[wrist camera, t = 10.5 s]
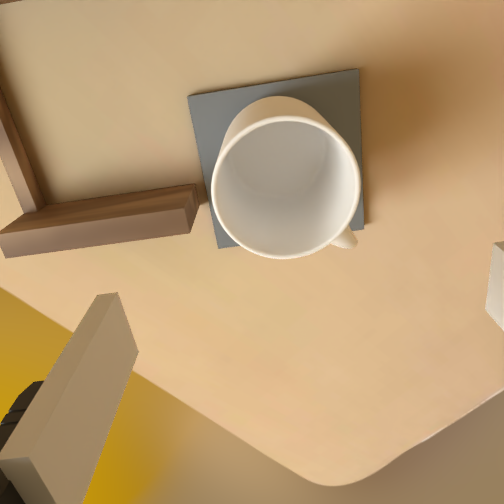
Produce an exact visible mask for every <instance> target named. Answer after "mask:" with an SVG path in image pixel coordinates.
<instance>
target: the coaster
mask: <svg viewBox="0 0 504 504" xmlns="http://www.w3.org/2000/svg"><path fill="white" fill-rule="evenodd" d="M271 96H287V97H292V98H295V99H298V100H301V101H303V102H305V103H306V104H308V105H310V106H311V107H312V108H314V109H315V110H316V111H317V112H318V113H319V114H320V115H321V116H322V117H323V118H324V119H325V120H326V121H327V122H328V123H329V124H330V125H331V126H332V127H333V128H334V129H335V130H336V131H337V133H338V134H339V135H340V136H341V137H342V138H343V139H344V140H345V141H346V143H347V144H348V145H349V147H350V148H351V150H352V152H353V154H354V156H355V158H356V161H357V163H358V167H359V171H360V178H361V192H360V198H359V202H358V206H357V209H356V211H355V214H354V216H353V218H352V220H351V221H350V223H349V224H348V225H349V226H350V228H351V230H352V231H355V230H362V229H364V208H363V178H362V147H361V116H360V86H359V69H351V70H345V71H339V72H333V73H326V74H320V75H314V76H308V77H301V78H295V79H289V80H283V81H277V82H270V83H264V84H258V85H252V86H245V87H239V88H233V89H227V90H220V91H214V92H208V93H202V94H196V95H189V96H187V99H188V104H189V109H190V114H191V118H192V123H193V128H194V133H195V138H196V143H197V148H198V152H199V157H200V162H201V167H202V172H203V177H204V181H205V186H206V191H207V196H208V201H209V206H210V211H211V215H212V220H213V225H214V230H215V235H216V240H217V244H218V249H220V248H227V247H235V246H240V245H239V244H238V243H236V242H235V241H234V240H233V239H232V238H231V237H230V236H229V235H228V234H227V232H226V231H225V230H224V229H223V227H222V226H221V224H220V222H219V220H218V218H217V216H216V214H215V211H214V207H213V203H212V196H211V182H212V175H213V172H214V168H215V165H216V162H217V159H218V156H219V152H220V149H221V146H222V143H223V140H224V137H225V134H226V132H227V130H228V128H229V126H230V124H231V123H232V121H233V120H234V118H235V117H236V116H237V115H238V114H239V113H240V112H241V111H242V110H243V109H244V108H245V107H247V106H248V105H249V104H251V103H253V102H255V101H257V100H260V99H262V98H266V97H271Z"/></svg>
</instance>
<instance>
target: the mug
mask: <svg viewBox="0 0 504 504" xmlns="http://www.w3.org/2000/svg"><path fill="white" fill-rule="evenodd" d="M360 192H361V178H360V171H359V167H358V163H357V161H356V158H355V156H354V154H353V152H352V150H351V148H350V147H349V145H348V144H347V143H346V141H345V140H344V139H343V138H342V137H341V136H340V135H339V134H338V133H337V131H336V130H335V129H334V128H333V127H332V126H331V125H330V124H329V123H328V122H327V121H326V120H325V119H324V118H323V117H322V116H321V115H320V114H319V113H318V112H317V111H316V110H315V109H314V108H312V107H311V106H310V105H308V104H306V103H305V102H303V101H301V100H298V99H295V98H292V97H287V96H271V97H266V98H262V99H260V100H257V101H255V102H253V103H251V104H249V105H248V106H247V107H245V108H244V109H243V110H242V111H241V112H240V113H239V114H238V115H237V116H236V117H235V118H234V120H233V121H232V123H231V124H230V126H229V128H228V130H227V132H226V134H225V137H224V140H223V143H222V146H221V149H220V152H219V156H218V159H217V162H216V165H215V168H214V172H213V175H212V182H211V196H212V203H213V207H214V211H215V214H216V216H217V218H218V220H219V222H220V224H221V226H222V227H223V229H224V230H225V231H226V232H227V234H228V235H229V236H230V237H231V238H232V239H233V240H234V241H235V242H236V243H238V244H239V245H240V246H242V247H243V248H245V249H247V250H249V251H250V252H253V253H255V254H257V255H261V256H264V257H268V258H274V259H293V258H299V257H303V256H307V255H310V254H312V253H315V252H317V251H319V250H321V249H323V248H324V247H326V246H328V245H329V244H330V243H331V244H333V245H335V246H338V247H341V248H347V249H351V248H354V247H355V246H356V245H357V243H358V240H357V238H356V237H355V235H354V234H353V232H352V230H351V228H350V226H349V225H348V224H349V223H350V221H351V220H352V218H353V216H354V214H355V211H356V209H357V206H358V202H359V198H360Z"/></svg>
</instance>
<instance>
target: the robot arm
mask: <svg viewBox="0 0 504 504" xmlns="http://www.w3.org/2000/svg"><path fill="white" fill-rule="evenodd" d="M485 310H486V311H487V312H488V314H489V315H490V316H491V317H492V318H493V319H494V320H495V322H496V323H497V324H498V325H499V326H500V327H501V329H502V330H503V331H504V241H503V242H496V243H493V250H492V259H491V267H490V275H489V284H488V292H487V300H486V309H485ZM138 352H139V351H138V349H137V346H136V343H135V340H134V337H133V334H132V332H131V329H130V326H129V323H128V320H127V317H126V315H125V312H124V309H123V306H122V303H121V300H120V298H119V295H118V292H116V293H109V294H101V295H97V296H96V298H95V299H94V301H93V303H92V304H91V306H90V308H89V309H88V311H87V312H86V314H85V316H84V317H83V319H82V320H81V322H80V324H79V325H78V327H77V329H76V330H75V332H74V333H73V335H72V337H71V338H70V340H69V342H68V343H67V345H66V346H65V348H64V350H63V351H62V353H61V355H60V356H59V358H58V359H57V361H56V363H55V364H54V366H53V368H52V369H51V371H50V372H49V374H48V376H47V378H46V379H45V381H37V382H33V383H32V384H31V385H30V386H29V387H28V388H27V389H25V390H24V391H23V392H22V393H21V394H20V395H19V396H18V398H17V399H16V400H15V402H14V403H13V405H12V406H11V408H10V410H9V413H8V414H6V415H5V417H4V418H3V420H2V422H1V425H0V504H82V503H83V501H84V498H85V495H86V492H87V490H88V487H89V484H90V482H91V479H92V476H93V474H94V471H95V468H96V465H97V463H98V460H99V457H100V455H101V452H102V449H103V447H104V444H105V441H106V438H107V436H108V433H109V430H110V428H111V425H112V422H113V420H114V417H115V414H116V412H117V409H118V406H119V403H120V401H121V398H122V395H123V392H124V390H125V387H126V385H127V382H128V379H129V376H130V374H131V371H132V368H133V366H134V363H135V360H136V357H137V355H138Z"/></svg>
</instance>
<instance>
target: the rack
mask: <svg viewBox="0 0 504 504" xmlns="http://www.w3.org/2000/svg"><path fill="white" fill-rule="evenodd" d="M15 1H21V0H0V4H4V3H10V2H15ZM0 157H1V160H2V162H3V165H4V167H5V169H6V172H7V174H8V177H9V179H10V181H11V184H12V186H13V188H14V191H15V193H16V196H17V198H18V200H19V203H20V205H21V208H22V210H23V212H24V214H23V215H22V216H20V217H19V218H17V219H16V220H15V221H13V222H12V223H11V224H9V225H8V226H6V227H5V228H4V229H2V230H1V231H0V247H1V249H2V251H3V253H4V256H5V258H12V257H19V256H27V255H34V254H41V253H49V252H56V251H63V250H71V249H78V248H85V247H93V246H100V245H107V244H115V243H122V242H129V241H137V240H144V239H151V238H158V237H166V236H173V235H180V234H188V233H190V232H191V229H192V226H193V223H194V220H195V217H196V214H197V211H198V208H199V201H198V197H197V192H196V187H195V184H189V185H182V186H175V187H168V188H161V189H154V190H147V191H140V192H133V193H127V194H120V195H113V196H106V197H99V198H92V199H85V200H78V201H71V202H65V203H58V204H51V205H46V204H45V201H44V198H43V196H42V193H41V191H40V188H39V186H38V183H37V181H36V178H35V175H34V173H33V170H32V168H31V165H30V163H29V160H28V157H27V155H26V152H25V150H24V147H23V145H22V142H21V140H20V137H19V134H18V132H17V129H16V127H15V124H14V122H13V119H12V116H11V114H10V111H9V109H8V106H7V104H6V101H5V99H4V96H3V93H2V91H1V88H0Z"/></svg>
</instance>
